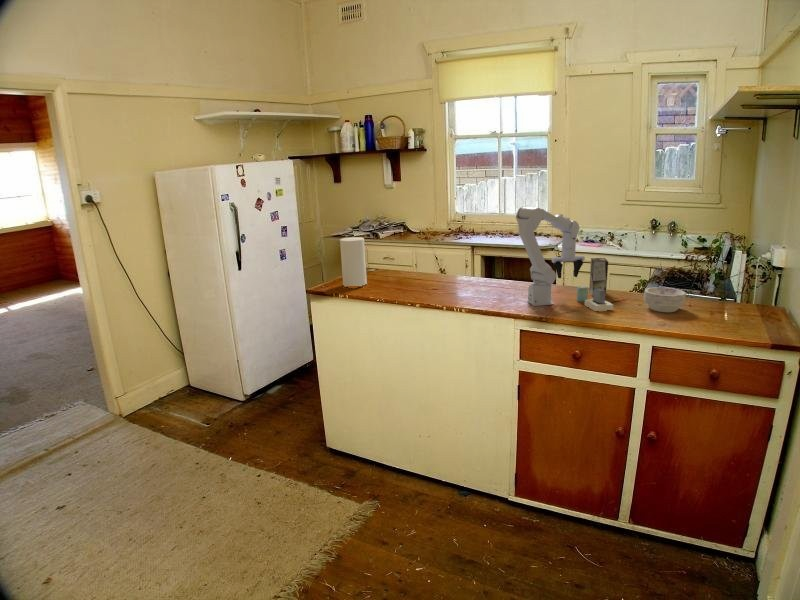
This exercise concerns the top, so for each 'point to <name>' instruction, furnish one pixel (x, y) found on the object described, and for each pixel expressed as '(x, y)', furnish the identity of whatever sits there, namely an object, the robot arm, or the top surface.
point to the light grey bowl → (664, 299)
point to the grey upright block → (582, 293)
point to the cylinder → (353, 261)
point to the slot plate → (598, 305)
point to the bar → (599, 296)
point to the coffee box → (598, 274)
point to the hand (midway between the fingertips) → (567, 277)
